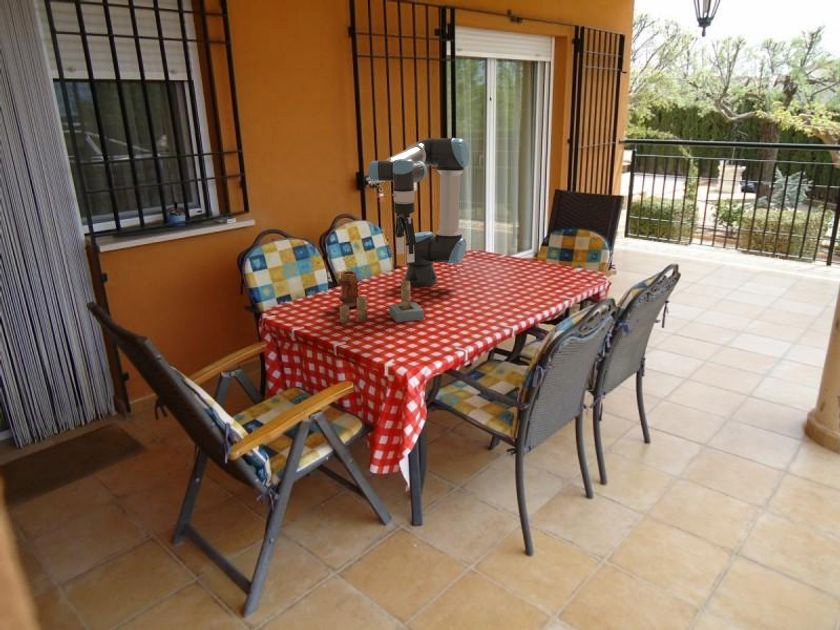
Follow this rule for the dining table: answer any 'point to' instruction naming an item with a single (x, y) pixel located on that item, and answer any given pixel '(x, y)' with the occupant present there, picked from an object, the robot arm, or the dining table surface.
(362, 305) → the dowel medium
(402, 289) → the dowel long
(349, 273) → the mug
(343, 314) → the dowel short
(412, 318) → the hole block
